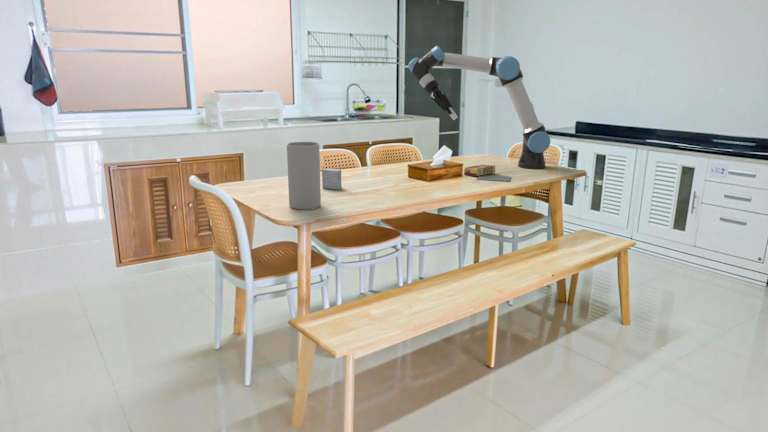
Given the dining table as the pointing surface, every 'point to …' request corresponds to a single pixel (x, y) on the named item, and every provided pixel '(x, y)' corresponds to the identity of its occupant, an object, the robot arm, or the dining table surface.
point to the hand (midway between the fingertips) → (455, 118)
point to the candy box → (479, 170)
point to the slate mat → (494, 178)
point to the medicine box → (331, 178)
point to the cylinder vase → (303, 175)
